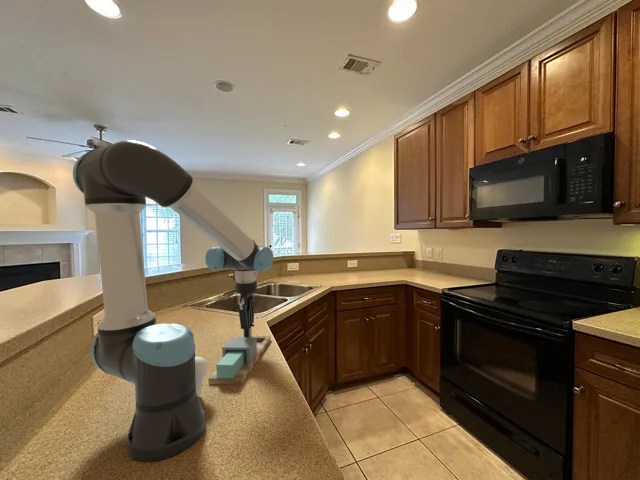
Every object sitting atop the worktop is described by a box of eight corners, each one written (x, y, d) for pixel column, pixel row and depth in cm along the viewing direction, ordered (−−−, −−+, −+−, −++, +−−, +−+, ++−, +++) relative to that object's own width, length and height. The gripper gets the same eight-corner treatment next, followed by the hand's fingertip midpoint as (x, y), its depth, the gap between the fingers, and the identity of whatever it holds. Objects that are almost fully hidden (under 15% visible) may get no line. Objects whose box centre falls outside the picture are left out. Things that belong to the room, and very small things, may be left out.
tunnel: (249, 364, 92) (249, 347, 92) (222, 364, 93) (222, 347, 92) (256, 354, 100) (256, 338, 100) (232, 353, 101) (231, 338, 100)
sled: (233, 378, 83) (232, 361, 83) (216, 378, 84) (216, 360, 83) (253, 351, 102) (252, 337, 102) (239, 351, 103) (239, 336, 102)
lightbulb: (212, 397, 77) (211, 357, 77) (189, 407, 72) (188, 365, 72) (202, 388, 81) (201, 351, 81) (180, 398, 77) (178, 358, 76)
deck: (241, 384, 83) (241, 379, 83) (208, 383, 84) (208, 378, 84) (270, 340, 117) (270, 336, 117) (246, 340, 118) (246, 336, 118)
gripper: (250, 284, 97) (252, 352, 97) (261, 278, 110) (263, 338, 110) (229, 284, 97) (231, 352, 98) (242, 278, 110) (244, 338, 111)
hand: (248, 345), depth 104 cm, fingers closed
